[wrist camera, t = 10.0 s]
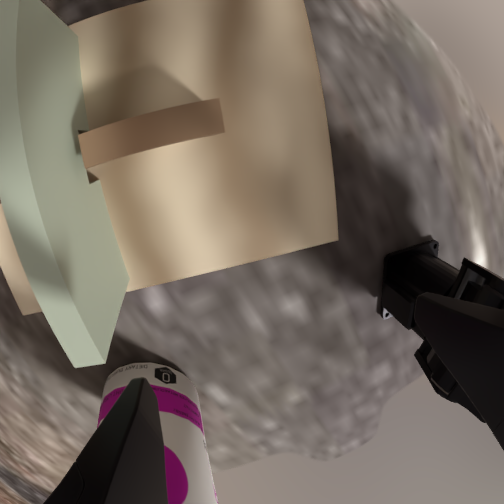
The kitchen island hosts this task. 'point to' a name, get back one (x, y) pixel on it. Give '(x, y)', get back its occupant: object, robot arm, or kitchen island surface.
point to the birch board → (205, 138)
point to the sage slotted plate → (55, 183)
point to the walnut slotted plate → (151, 131)
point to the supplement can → (172, 429)
